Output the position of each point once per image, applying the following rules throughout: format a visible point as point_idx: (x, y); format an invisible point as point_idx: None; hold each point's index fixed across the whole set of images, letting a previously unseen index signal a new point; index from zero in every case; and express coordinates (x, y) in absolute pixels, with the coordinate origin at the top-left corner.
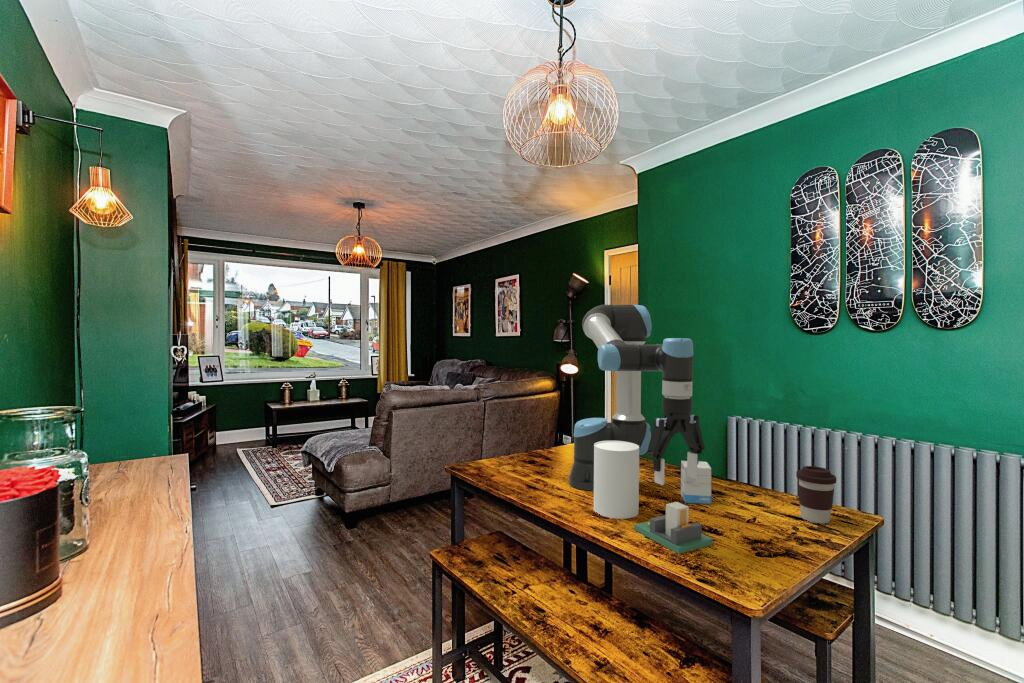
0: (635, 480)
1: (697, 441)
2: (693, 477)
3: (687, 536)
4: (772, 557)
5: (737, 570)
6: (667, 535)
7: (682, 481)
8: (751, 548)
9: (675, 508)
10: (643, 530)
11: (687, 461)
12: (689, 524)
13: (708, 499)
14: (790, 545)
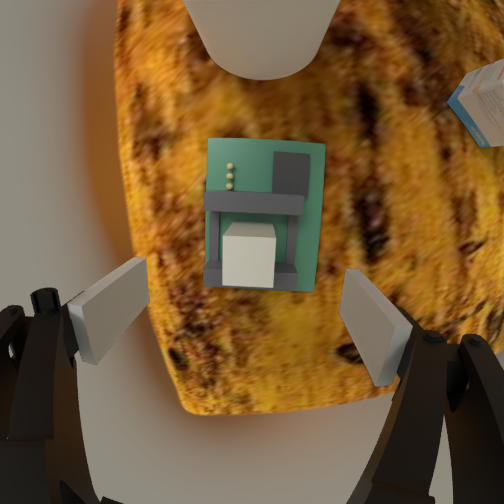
0: (284, 33)
1: (456, 412)
2: (341, 305)
3: None
4: (350, 364)
5: (254, 366)
6: None
7: (480, 76)
8: None
9: (222, 277)
10: (207, 171)
11: (371, 298)
12: None
13: (482, 142)
14: None
